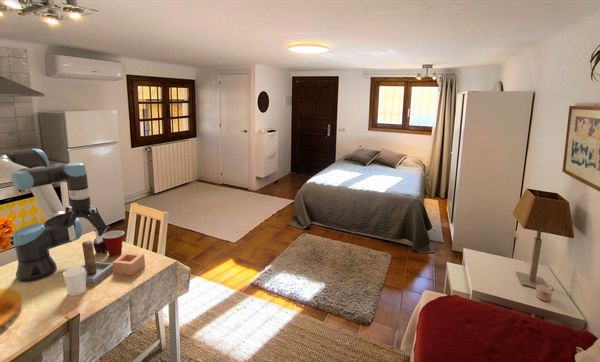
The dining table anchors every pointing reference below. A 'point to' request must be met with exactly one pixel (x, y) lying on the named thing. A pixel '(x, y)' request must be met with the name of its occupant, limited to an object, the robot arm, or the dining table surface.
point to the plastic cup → (113, 242)
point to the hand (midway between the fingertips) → (86, 240)
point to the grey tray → (98, 272)
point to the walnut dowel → (89, 257)
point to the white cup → (75, 280)
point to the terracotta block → (128, 263)
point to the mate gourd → (100, 245)
